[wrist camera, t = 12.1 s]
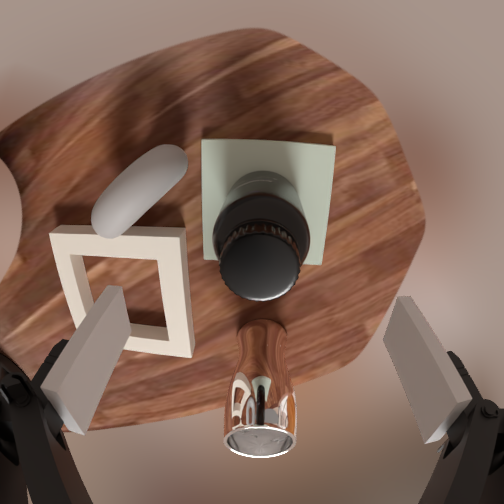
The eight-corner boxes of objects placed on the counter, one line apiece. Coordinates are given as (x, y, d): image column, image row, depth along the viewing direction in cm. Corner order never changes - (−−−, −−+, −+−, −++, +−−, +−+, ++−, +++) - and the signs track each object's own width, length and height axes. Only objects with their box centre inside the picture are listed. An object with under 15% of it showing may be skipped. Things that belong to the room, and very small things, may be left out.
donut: (182, 130, 26) (143, 142, 18) (206, 157, 28) (178, 181, 19) (116, 197, 30) (64, 235, 21) (137, 220, 31) (93, 266, 22)
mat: (205, 254, 32) (203, 259, 31) (203, 138, 27) (201, 139, 26) (319, 260, 32) (321, 264, 31) (333, 145, 27) (335, 146, 26)
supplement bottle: (258, 153, 26) (255, 185, 16) (314, 202, 28) (344, 263, 17) (210, 208, 29) (180, 272, 18) (265, 251, 31) (266, 332, 20)
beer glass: (284, 358, 39) (289, 459, 25) (231, 353, 38) (219, 455, 25) (295, 318, 35) (307, 427, 22) (236, 312, 35) (222, 421, 22)
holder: (88, 330, 38) (81, 341, 36) (60, 225, 31) (48, 233, 29) (195, 344, 38) (191, 357, 36) (185, 227, 31) (179, 237, 29)
